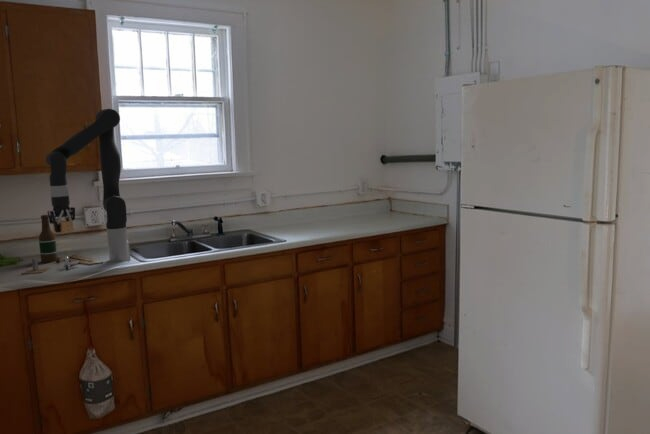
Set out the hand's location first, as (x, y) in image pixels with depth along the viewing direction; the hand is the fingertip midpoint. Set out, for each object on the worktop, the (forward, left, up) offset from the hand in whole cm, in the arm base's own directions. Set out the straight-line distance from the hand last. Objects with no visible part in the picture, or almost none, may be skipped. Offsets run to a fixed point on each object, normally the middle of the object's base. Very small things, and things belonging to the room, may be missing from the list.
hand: (63, 230), depth 250 cm
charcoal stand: (0, 0, -19) cm, 19 cm away
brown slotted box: (0, 0, 0) cm, 1 cm away
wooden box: (+8, -11, -19) cm, 23 cm away
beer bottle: (-14, -27, -19) cm, 36 cm away
